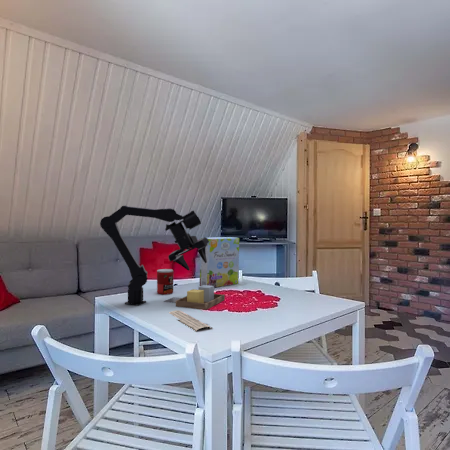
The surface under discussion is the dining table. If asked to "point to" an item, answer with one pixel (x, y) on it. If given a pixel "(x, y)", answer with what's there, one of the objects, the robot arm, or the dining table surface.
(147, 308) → the dining table surface
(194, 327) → the tan flat ridged strip
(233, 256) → the snack box
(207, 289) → the grey-blue block
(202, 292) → the mustard block
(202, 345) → the dining table surface
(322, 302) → the dining table surface
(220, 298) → the walnut tray
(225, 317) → the dining table surface
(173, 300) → the slate pad
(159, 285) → the canned food
